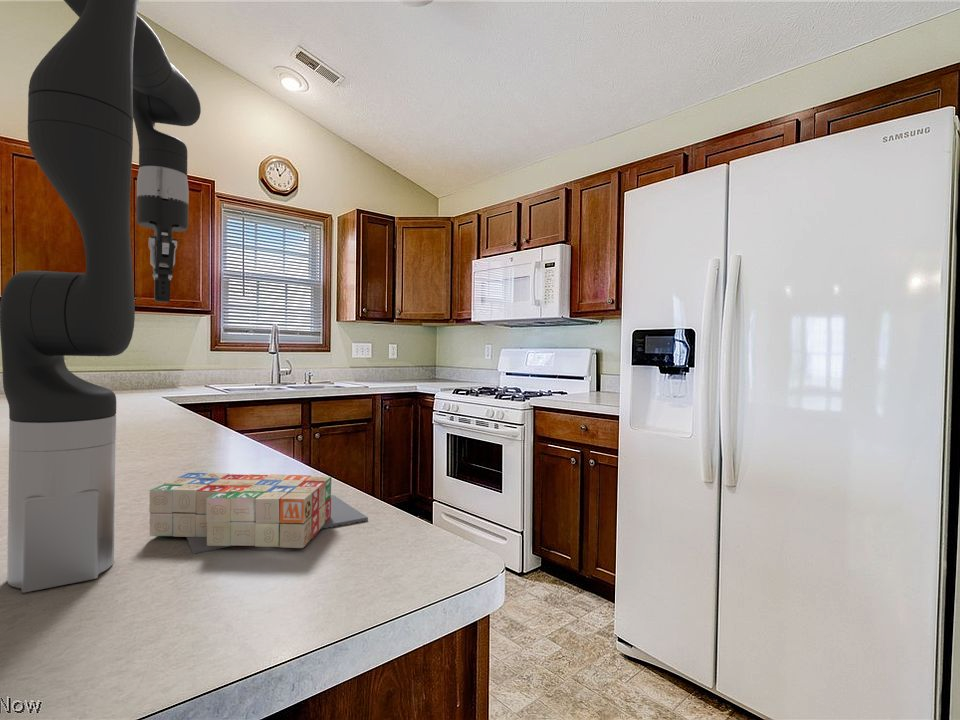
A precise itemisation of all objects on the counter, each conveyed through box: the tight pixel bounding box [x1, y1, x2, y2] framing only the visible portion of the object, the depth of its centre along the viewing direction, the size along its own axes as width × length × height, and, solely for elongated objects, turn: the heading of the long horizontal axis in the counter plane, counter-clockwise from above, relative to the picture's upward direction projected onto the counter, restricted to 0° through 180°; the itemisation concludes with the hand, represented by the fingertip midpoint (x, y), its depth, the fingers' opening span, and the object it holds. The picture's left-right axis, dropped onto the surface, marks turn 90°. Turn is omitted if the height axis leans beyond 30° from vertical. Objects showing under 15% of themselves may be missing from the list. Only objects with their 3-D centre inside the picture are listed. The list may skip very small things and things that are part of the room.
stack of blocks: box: [148, 472, 332, 549], centre depth 70 cm, size 21×6×12 cm
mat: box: [185, 494, 369, 554], centre depth 76 cm, size 14×23×1 cm, turn 127°
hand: (162, 301), depth 88 cm, fingers closed
